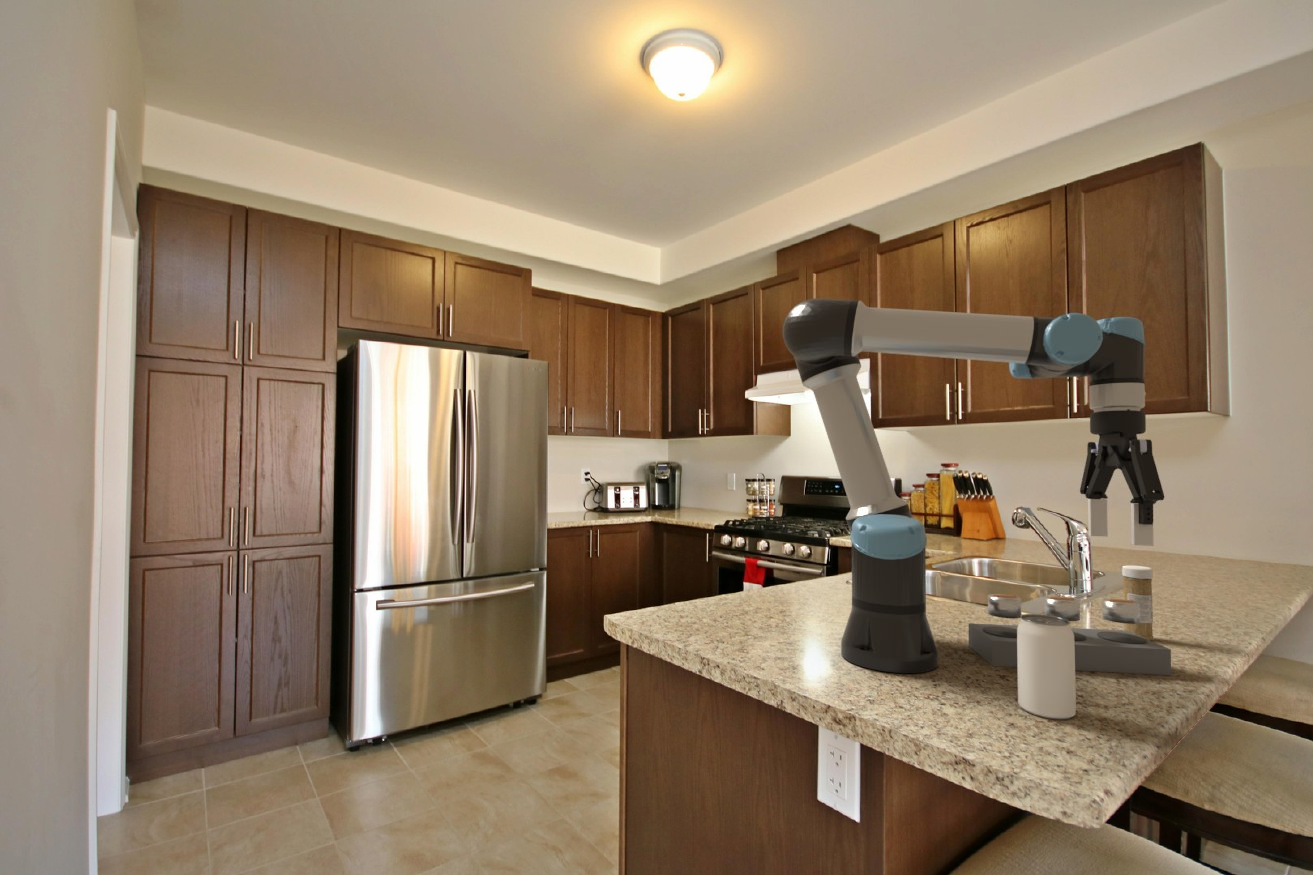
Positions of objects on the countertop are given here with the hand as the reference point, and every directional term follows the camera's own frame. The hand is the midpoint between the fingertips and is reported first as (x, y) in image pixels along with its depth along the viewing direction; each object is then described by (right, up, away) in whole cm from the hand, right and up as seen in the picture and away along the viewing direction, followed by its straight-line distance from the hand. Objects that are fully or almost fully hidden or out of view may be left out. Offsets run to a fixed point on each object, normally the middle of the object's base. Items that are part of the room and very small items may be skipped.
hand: (1118, 540), depth 103 cm
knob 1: (-18, -13, +2) cm, 22 cm away
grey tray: (-9, -20, 0) cm, 22 cm away
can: (-26, -19, -21) cm, 39 cm away
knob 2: (0, -13, -1) cm, 13 cm away
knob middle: (-9, -13, +1) cm, 16 cm away
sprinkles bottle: (+14, -21, +14) cm, 29 cm away
